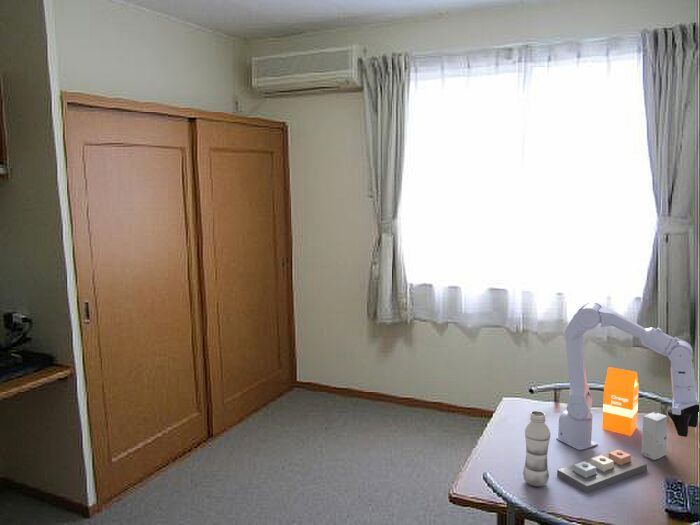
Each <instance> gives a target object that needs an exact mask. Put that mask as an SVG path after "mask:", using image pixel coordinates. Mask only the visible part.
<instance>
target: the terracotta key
mask: <svg viewBox="0 0 700 525" xmlns="http://www.w3.org/2000/svg"><path fill="white" fill-rule="evenodd" d="M614 450H615V449H614ZM611 451H612V452H610V451H608V452H609V459H611V460H613V461H614V462H615V463H617V464H619V465H623V464H626V463H628V462H630V460H631V456H632V455H631V454H629V453H627V452H625V451H623V450H621V449H617V450H615V451H613V450H611Z"/></svg>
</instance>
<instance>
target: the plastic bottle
mask: <svg viewBox="0 0 700 525" xmlns="http://www.w3.org/2000/svg"><path fill="white" fill-rule="evenodd" d="M529 420H530V422H529V423H527V425H526V427H525V429H524V438H525V439H524V440H525V444H526V445H525V453H526V454H525V461H524V466H523V470H522V476H523V480H524V481H525V483H527V484H528V485H530V486H532V487H538V488H540V487H545V486H546V485H547V484H548V482H549V479H550V474H549V468H548V452H549V444H550V440H551V439H550V438H551V431H550V428H549V427H548V426H547V424H546V420H547V419H546V413H545V412H543V411H540V410H539V411H538V410H533V411H531V412H530V416H529Z"/></svg>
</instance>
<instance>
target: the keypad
mask: <svg viewBox="0 0 700 525" xmlns="http://www.w3.org/2000/svg"><path fill="white" fill-rule="evenodd" d="M615 450H618V449H616V448H615V449H613V450H610V451H608V452H603V453H602V454H599V455H595V456H593V457H590V458H587V459H584V460H581V461H576V462H575V463H573V464H569V465H566V466H563V467H560V468H558V469H557V470H556V471H557V472H556V476H557V477H558V478H559V479H561V480H563V481H565V482H567V483H568V484H569V485H572V486H573V487H575V488H576V489H579V490H580V491H582V492H584V493H586V494H588V493H591V492H593V491H596V490H599V489H602V488H605V487H607V486H609V485H612V484H614V483H617V482H620V481H623V480H626V479H627V478H630V477H632V476H635V475H638V474H641V473H643V472H647V467H648V463H646V462H644V461H642V460H640V459H637V458H636V457H633V456H632V455H631V460H630V462H628V463H626V464H623V465H619V464H617V463H615V462H614V468H612V469H609V470H606V471H602V470H600V469H598V468H596V474H595V475H593V476H590V477H587V478H585V477H583V476H581V475H579V474H577V473H576V472H574V464H577V463H580V462H583V461H585V462H587V463H589V464H591V465H592V458H595V457H598V456H601V455H602V456H604V457H606V458H608V459H609V452H612V451H615Z"/></svg>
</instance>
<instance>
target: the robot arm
mask: <svg viewBox="0 0 700 525" xmlns="http://www.w3.org/2000/svg"><path fill="white" fill-rule="evenodd" d="M599 324H600V328H607V327H614V328H616V329H618V330H621V331H622V332H624V333H627V334H629V335H631V336H633V337H635V338H638V339H639V340H640V343H641V345H642V346H645V347H646V348H648V349H650V350H652V351H653V352H656V353H658V354H659V355H662V356H664V357H668V360H669V361H670V379H671V390H672V401H671V402H672V406H671V409H669V410H667V415H668V417H669V418H670V419H671V421H672V423H673V425H674V428H675V430H676V433H677V435H678V437H684V438H687V437H688V434H689V427H690V428H697V427H698V423H699V422H698V421H699V416H698V412H699V411H700V410H699V400H700V399H699V398H698V397H699V394H698V392H697V391H696V380H695V379H696V377H695V368H694V362H693V358H694V355H693V354H694V352H693V351H694V350H693V347H692V345H691V344H690V343H688V341H686V340H685V339H680V338H679V337H676V336H675V337H673V336H671V335H669V334H666V333H665V332H663V331H662V330H663V329H661V328H660V327H657V328H655V327H644V326H641V325H640V324H638V323H636V322H635V321H633V320H631V319H629V318H628V317H626V316H623V315H622V314H620V313H618V312H616V311H614V310H612V309H611V308H609V307H608V306H605V305H601V304H600V303H598V302H596V301H592V302H587V303H586V304H583V306H582V307H580V308H579V309H578V310H577V311H576V313H575V314H574V315H573V316H572V318H571V320H570V322H569V323H568V324H567V326H566V327H565V329H564V335H565V346H566V356H567V365H568V367H567V368H568V376H569V378H568V379H569V380H568V381H569V393H568V403H567V405H566V410H565V409H564V411H562V412H561V414H560V415H559V418H558V432H557V433H558V435H557V436H556V440H558V441H560V442H562V443H564V444H566V445H568V446H570V447H572V448H574V449H576V450H578V451H583V450H586V449H590V448H593V447H596V446H599V444H598V442H596V441H593V440H592V438H593V436H592V434H593V433H592V432H593V414H592V413H591V408H592V407H593V406H594V401H595V400H594V397H593V396H592V394H591V393H590V392H591V391H590V386H589V384H588V380H587V370H586V357H585V347H584V345H585V344H584V336H583V335H584V334H586V333H587V332H588V331H591V330H593V329H595V328H596V327H598V325H599ZM699 413H700V412H699Z"/></svg>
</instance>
